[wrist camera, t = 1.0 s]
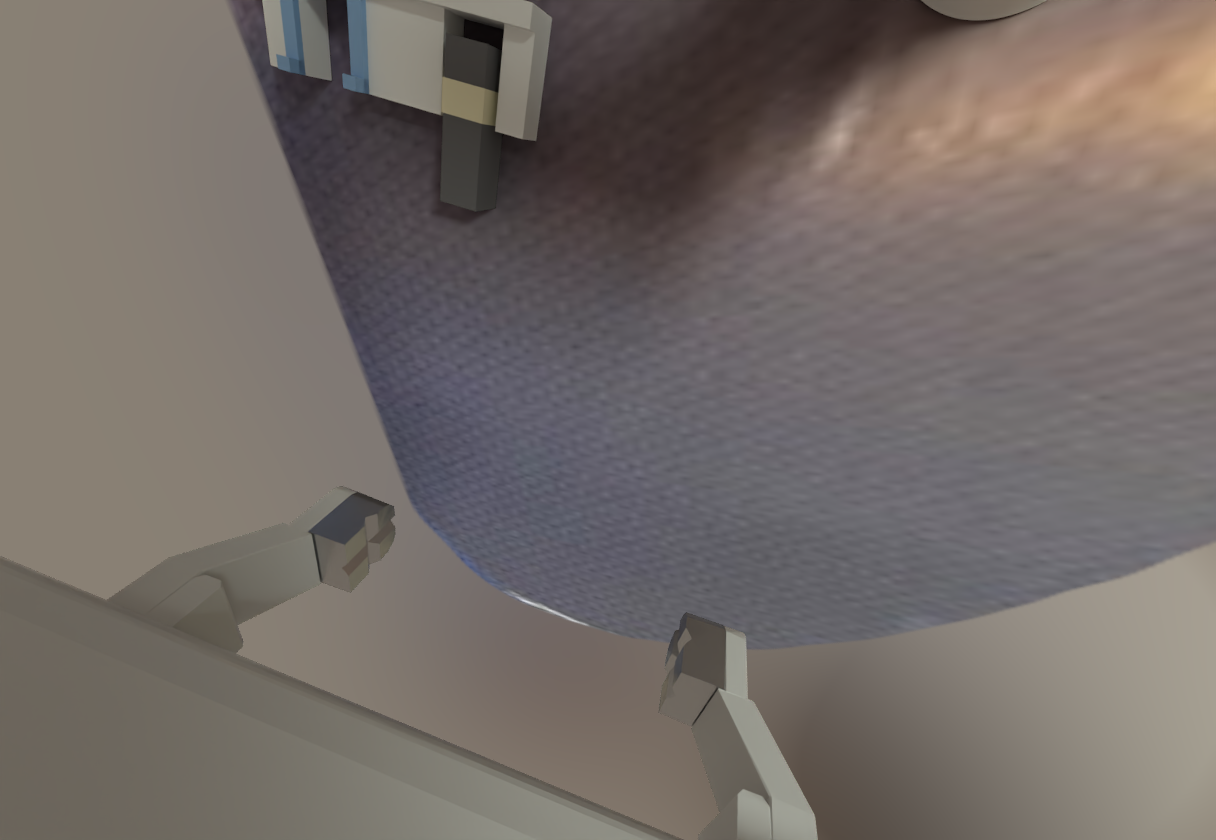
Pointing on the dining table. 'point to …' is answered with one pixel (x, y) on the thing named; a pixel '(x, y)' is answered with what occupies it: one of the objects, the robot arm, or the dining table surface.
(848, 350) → the dining table surface
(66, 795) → the robot arm
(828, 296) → the dining table surface
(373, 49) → the white angular block assembly
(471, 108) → the banded gray post
